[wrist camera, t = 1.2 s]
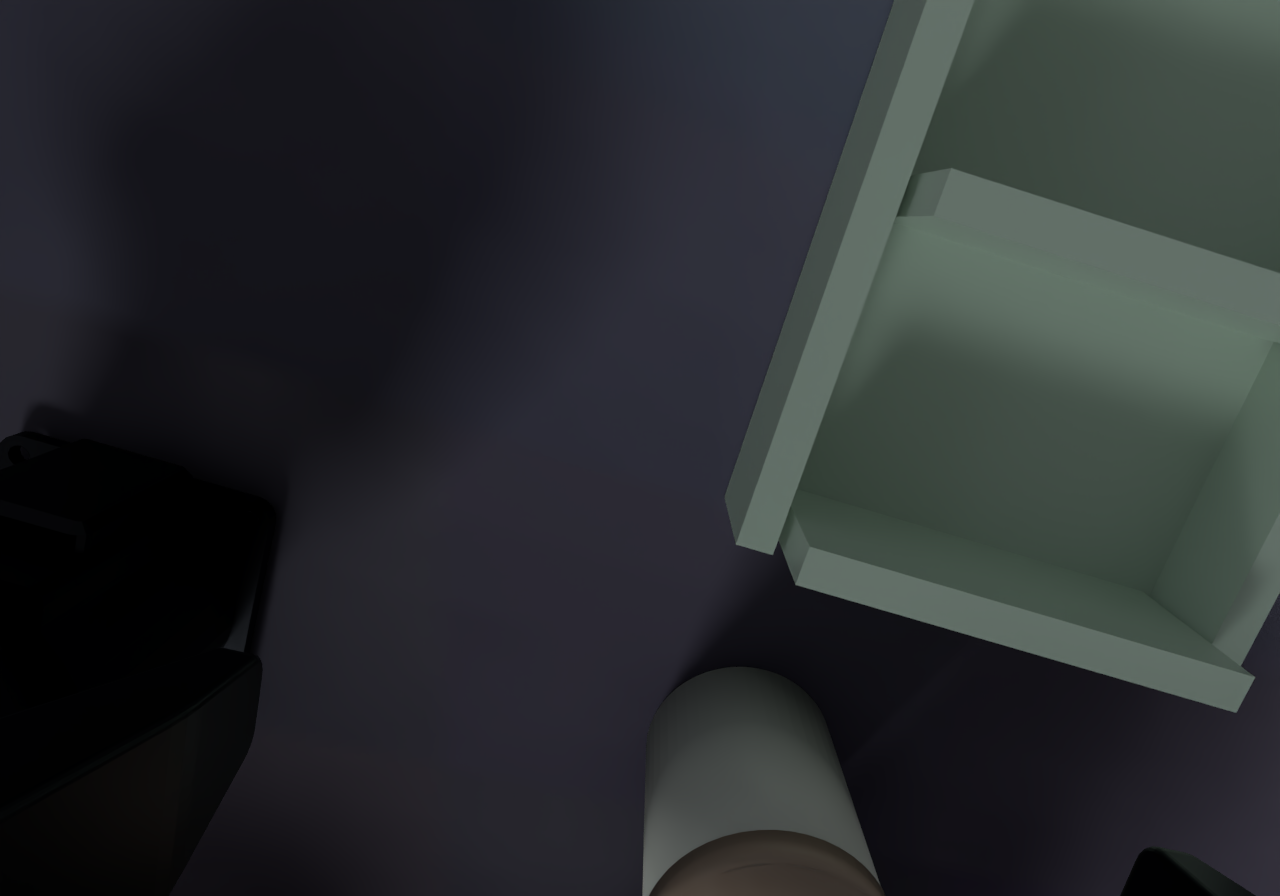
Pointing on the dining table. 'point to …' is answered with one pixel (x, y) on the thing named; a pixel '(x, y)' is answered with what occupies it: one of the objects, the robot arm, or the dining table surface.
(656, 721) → the jar
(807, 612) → the dining table surface
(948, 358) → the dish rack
